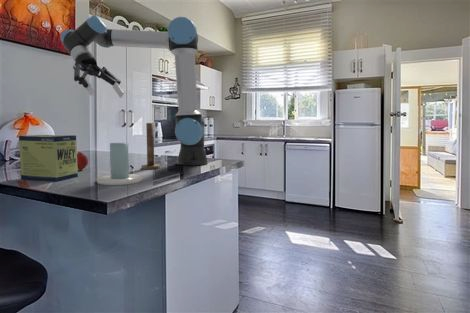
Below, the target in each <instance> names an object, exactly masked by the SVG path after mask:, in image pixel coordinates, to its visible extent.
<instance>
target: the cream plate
mask: <svg viewBox="0 0 470 313" xmlns="http://www.w3.org/2000/svg"><path fill="white" fill-rule="evenodd" d="M143 180H144V179H143V176H142V175H139V174H137V173H136V174H135V173H134V174H133V173H129V178H126V179H111V174H107V175H101V176H99V177H97V178H96V183H97V184H98V185H103V186H124V185H125V186H127V185H132V184H138V183H141V182H143Z"/></svg>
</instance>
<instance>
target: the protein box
mask: <svg viewBox="0 0 470 313" xmlns="http://www.w3.org/2000/svg"><path fill="white" fill-rule="evenodd" d="M18 145H19V149H18V150H19V161H20V179H21V180H28V181H40V182H42V181H43V182H55V183H56V182H61V181H65V180H70V179H74V178H78V177H79V173H78V171H79V169H78V167H77V154H78V147H77V135H74V134H73V135H72V134H71V135H68V134H67V135H66V134H65V135H62V134H54V135H53V134H29V135H28V134H27V135H18Z"/></svg>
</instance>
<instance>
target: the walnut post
mask: <svg viewBox="0 0 470 313" xmlns="http://www.w3.org/2000/svg"><path fill="white" fill-rule="evenodd" d="M145 127H146V164H142V165H141V170H158V169H161V165H160V164H157V163H155V142H154V141H155V135H154V134H155V133H154V132H155V131H154V130H155V129H154V122H146V126H145Z"/></svg>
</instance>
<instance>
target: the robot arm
mask: <svg viewBox="0 0 470 313" xmlns="http://www.w3.org/2000/svg"><path fill="white" fill-rule="evenodd" d="M60 42H61V43H62V44H63V47H64V49H65V50H66V51H67V53H68V54H69V56H70V57H71V58H72V60H73V61H74V65H73V66H72V68H73V70H74V71H73V72H74V76H73V81H74V82H78V84H79V85H81V86H83V88H85V89H86V91H87V92H88V94H89V95H90V96H93V94H94V93H95V90H96V89H95V88H94V87H93V84H92V83H91V82H90V80H89V79H88V78H86V77H87V76H88V75H89V76H91V77H92V76H93V77H97V78H98V79H101V80H103V81H105V82H106V83H108V84H109V85H111V86H112V88H113V90H114V92H115V93H116V94H117V95H118V97H119V98H122V97H123V96H124V94H125V92H124V91H123V89H122V87H121V86H120V85H121V83H122V81H121V80H120V79H119V78H118V77H117V76H115V75H114V74H113V73H112V72H110V71H109V70H108V69H107V68H106V66H102V67H100V66H98V62H97V60H96V58H95V56H93V54H92V53H91V51H90V50H89V49H88V46H90V45H91V44H92V43H93V42H94V43H96V44H97V45H98V46H100V47H102V48H105V49H106V48H107V49H109V48H111V47H120V48H121V47H122V48H125V47H127V48H143V49H149V48H150V49H166V50H168V51H169V52H170V53H171V54H172V55H173V56H174V64H175V77H176V78H175V81H176V92H177V93H176V94H177V105H178V106H177V107H178V110H177V112H176V114H175V115H174V116H175V128H174V134H175V138H176V139H177V140H178V141H179V142H180V149H179V152H178V156H177V159H176V163H177V165H179V166H180V165H181V166H203V165H207V163H208V161H209V160H208V157H207V154H206V150H205V119H204V117H202V113H201V112H200V111H199V104H198V93H197V92H198V91H197V75H196V74H197V73H196V72H197V71H196V60H195V55H197V53H198V51H199V50H198V43H199V36H198V32H197V27H196V25H195V23H194V22H193V21H192V20H191V19H190V18H188V17H186V16H177V17H175V18H173V19H172V20H171V21H170V22H169V23H168V26H167V31H156V30H137V29H136V30H135V29H131V30H130V29H115V28H114V29H112V28H111V29H110V28H108V26H107V25H106V24H105V23H104V21H103V20H102V19H101V18H100V17H99V16H98V15H96V14H93V15H92V16H90V17H88V18H87V19H86V20H85V21H83V23H82V24H80V25H79V26H78V27H77V28H76V29H67V30H64V31H63V32H62V33H60ZM80 71H81V72H83V74H82V75H81V72H80ZM80 75H81V76H80Z"/></svg>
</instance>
